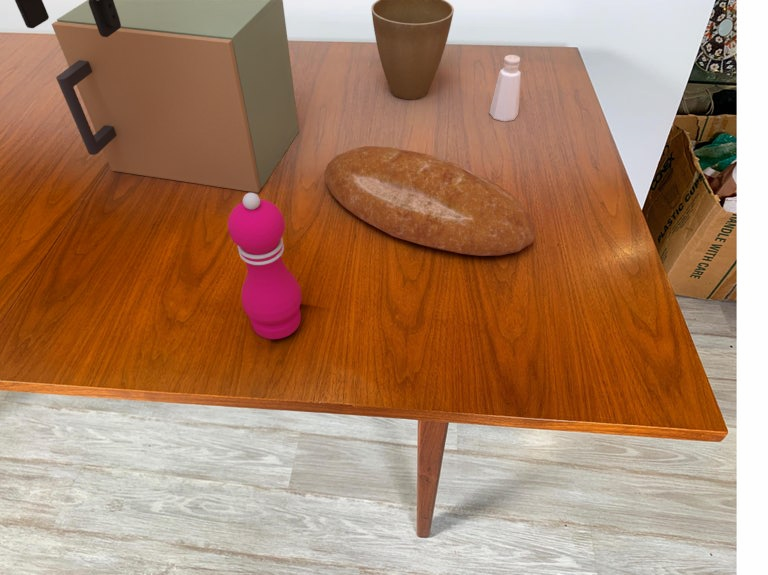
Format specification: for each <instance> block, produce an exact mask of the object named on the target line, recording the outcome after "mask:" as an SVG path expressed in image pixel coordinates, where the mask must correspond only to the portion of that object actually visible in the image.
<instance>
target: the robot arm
mask: <svg viewBox="0 0 768 575" xmlns="http://www.w3.org/2000/svg"><path fill="white" fill-rule="evenodd" d="M14 2H15V4H16V7H17V9H18V11H19V13H20V16H21V18H22V20H23V22H24V25H25V26H26V28H27V29H35V28H37V27H38V26H40V25H41V24H43V23H45V22H47V21H48V20H49V19H50V16H49V13H48V11H47V8H46V6H45V3H44V2H43V0H14ZM89 5H90V8H91V11H92V14H93V17H94V19H95V22H96V25H97V28H98V31H99V33H100V35H101V36H102V37H108V36H110V35H111V34H113V33H114V32H115V31H117V30H118V29H120V28H121V23H120V20H119V16H118V13H117V10H116V7H115V4H114V1H113V0H89Z"/></svg>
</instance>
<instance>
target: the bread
mask: <svg viewBox="0 0 768 575" xmlns="http://www.w3.org/2000/svg"><path fill="white" fill-rule="evenodd" d="M323 178H324V182H325V185H326V186H327V188H328V189H329V192H330V194H331V196H333V197H334V198H335V199H336V201H337V202H339V204H340V205H341V206H342V207H344V208H345V209H346V210H348V212H350V213H352V215H354V216H356V217H357V218H359V219H360V220H362V221H364V222H365V223H367V224H368V225H371V226H372V227H375V228H376V229H378V230H380V231H382V232H384V233H386V234H388V235H389V236H391V237H394V238H396V239H397V238H398V239H401V240H404V241H407V242H410V243H413V244H418V245H420V246H424V247H427V248H431V249H434V250H440V251H445V252H451V253H457V254H462V255H469V256H478V257H486V256H487V257H489V256H503V255H508V254H513V253H515V254H516V253H518V252H520V251H521V250H523V249H525V248H526V247H528V246H530V245H531V244H532V243H533V242H534V239H535V237H536V235H535V231H534V227H533V224H532V220H531V216H530V214H529V212H528V211H527V210H526V208H525V207H524V206H523V204H522V203H521V201H520V200H519V199H518V198H517V197H516V196H515V195H513V194H512V193H511V192H509V191H508V190H507V189H505V188H503V187H502V186H500V185H499V184H496V182H495V183H494V182H493V181H491V180H489V179H487V178H485V177H483V176H482V175H479V174H477V173H475V172H473V171H471V170H469V169H467V168H465V167H463V166H461V165H460V164H457V163H454V162H451V161H448V160H445V159H443V158H439V157H436V156H433V155H430V154H427V153H423V152H418V151H412V150H408V149H400V148H394V147H389V146H374V145H373V146H371V145H369V146H366V145H364V146H359V147H357V148H353V149H349V150H347V151H345V152H343V153H340V154H337V155H336V156H335V157H334V158H333V159H332V160H330V161H329V163H327V165H326V168H325V170H324V173H323Z"/></svg>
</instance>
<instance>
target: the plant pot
mask: <svg viewBox="0 0 768 575" xmlns="http://www.w3.org/2000/svg"><path fill="white" fill-rule="evenodd" d="M370 9H371V10H370V11H371V16H372V25H373V32H374V37H375V42H376V47H377V52H378V55H379V59H380V63H381V67H382V70H383V74H384V77H385V79H386V82H387V85H388V88H389V90H390V92H391V94H392V95H393V96H394V97H396V98H398V99H403V100H417V99H421V98H423V97H425V96H426V95H427V94H428V91H429V90H430V87H431V86H432V83H433V81H434V79H435V76H436V74H437V72H438V68H439V66H440V64H441V60H442V57H443V55H444V52H445V48H446V44H447V43H448V42H447V41H448V37H449V34H450V30H451V25H452V22H453V17H454V13H455V9H454V7H453V4H451V3H450V2H449V1H447V0H376V1H375V2H374V3H373V4H372V5H371V8H370Z"/></svg>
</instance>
